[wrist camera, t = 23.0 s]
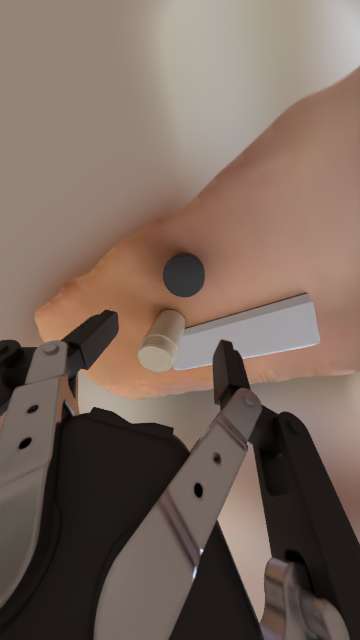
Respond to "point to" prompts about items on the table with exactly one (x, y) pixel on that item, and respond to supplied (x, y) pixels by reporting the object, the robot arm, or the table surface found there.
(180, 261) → the jar lid
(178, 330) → the coffee jar
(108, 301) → the table surface
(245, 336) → the crown molding
